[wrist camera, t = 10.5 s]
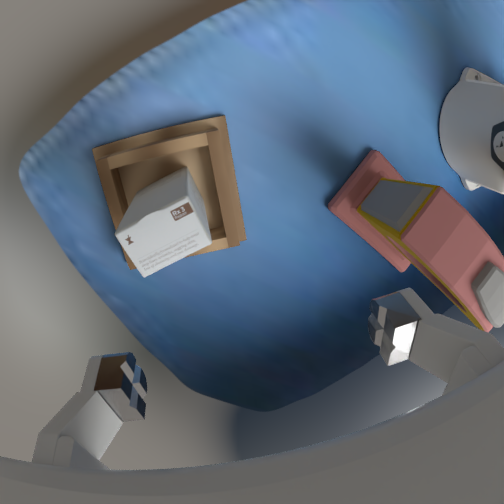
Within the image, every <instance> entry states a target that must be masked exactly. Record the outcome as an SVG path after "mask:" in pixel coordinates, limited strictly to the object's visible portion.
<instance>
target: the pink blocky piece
mask: <svg viewBox="0 0 504 504" xmlns="http://www.w3.org/2000/svg"><path fill="white" fill-rule="evenodd" d="M328 209H329V210H330V211H331V212H332V213H334V214H335V215H336V216H337V217H338V218H340V219H341V220H342V221H343V222H344V223H345V224H347V225H348V226H349V227H350V228H351V229H353V230H354V231H355V232H356V233H357V234H358V235H360V236H361V237H362V238H363V239H364V240H365V241H366V242H368V243H369V244H370V245H371V246H372V247H373V248H374V249H376V250H377V251H378V252H379V253H380V254H381V255H382V256H383V257H385V258H386V259H387V260H388V261H389V262H390V263H391V264H392V265H393V266H395V267H396V268H397V269H398V270H399V271H400V272H404V271H405V270H406V269H407V267H408V266H409V265H410V264H411V263H412V264H413V265H414V266H415V267H416V268H417V269H419V270H420V271H421V272H422V273H423V274H424V275H425V276H426V277H427V278H428V279H429V280H430V281H431V282H432V283H433V284H435V285H436V286H437V287H438V288H439V289H440V290H441V291H442V292H443V293H444V294H445V295H446V296H447V297H448V298H449V299H450V300H451V301H452V302H453V303H454V304H455V305H456V306H457V307H458V308H459V309H460V310H461V311H462V312H463V313H464V314H465V315H466V316H467V317H468V318H469V319H470V320H471V321H472V322H473V323H474V324H475V326H476V327H478V328H479V329H480V330H482V331H485V332H487V333H488V332H489V331H490V330H491V329H492V327H493V326H494V327H496V328H497V327H501V326H502V325H503V324H504V257H503V255H502V254H501V252H500V251H499V249H498V248H497V246H496V245H495V244H494V242H493V241H492V239H491V238H490V236H489V235H488V234H487V233H486V232H485V231H484V229H483V228H482V227H481V226H480V225H479V224H478V223H477V221H476V220H475V219H474V218H473V217H472V216H471V215H470V214H469V213H468V211H467V210H466V209H465V208H464V207H463V206H461V205H460V204H459V203H458V202H457V201H456V200H455V199H454V198H453V197H452V196H451V195H450V194H449V193H448V192H447V191H446V190H445V189H443V188H442V187H440V186H436V185H430V184H423V183H416V182H408V181H405V180H404V179H403V178H402V176H401V175H400V174H399V173H398V172H397V171H396V169H395V168H394V167H393V166H392V165H391V164H390V163H389V162H388V160H387V159H386V158H385V157H384V156H383V155H382V154H381V153H380V152H379V151H376V150H371V151H370V152H369V153H368V155H367V156H366V157H365V158H364V160H363V161H362V162H361V163H360V165H359V166H358V167H357V169H356V170H355V171H354V172H353V174H352V175H351V176H350V177H349V179H348V180H347V181H346V182H345V184H344V185H343V186H342V187H341V189H340V190H339V191H338V192H337V194H336V195H335V196H334V197H333V199H332V200H331V201H330V202H329V204H328Z"/></svg>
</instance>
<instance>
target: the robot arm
mask: <svg viewBox="0 0 504 504" xmlns="http://www.w3.org/2000/svg"><path fill="white" fill-rule="evenodd" d="M439 131H440V141H441V146H442V150H443V153H444V156H445V158H446V160H447V162H448V164H449V165H450V166H451V168H452V169H453V170H454V171H455V172H457V173H458V175H459V176H460V178H461V181H462V183H463V185H464V187H465V188H466V189H468V190H474V189H476V188H478V187H480V186H483V187H486V188H488V189H491V190H493V191H496V192H498V193H501V194H504V85H503V84H501V83H499V82H497V81H496V80H494V79H492V78H490V77H488V76H487V75H485V74H483V73H481V72H479V71H477V70H475V69H473V68H469V67H466V68H465V69H464V70H463V72H462V75H461V78H460V81H459V82H458V83H457V84H456V85H455V86H454V87H453V88H452V89H451V90H450V92H449V93H448V95H447V97H446V99H445V101H444V103H443V107H442V110H441V115H440V126H439ZM369 309H370V310H371V312H372V314H371V316H370V317H369V319H368V329H369V334H370V336H371V339H372V341H373V342H374V344H376V345H378V346H380V347H381V348H380V354H381V356H382V357H383V359H384V360H385V362H386V364H387V365H388V366H389V365H392V364H395V363H398V362H401V361H404V360H406V359H409V360H410V361H412V362H413V363H415V364H417V365H418V366H420V367H422V368H423V369H425V370H427V371H428V372H430V373H432V374H433V375H435V376H437V377H438V378H440V379H442V380H443V381H445V382H447V383H448V384H447V386H446V388H445V390H444V392H443V395H442V396H441V397H439V398H437V399H434V400H432V401H430V402H428V403H426V404H424V405H422V406H419V407H417V408H415V409H413V410H411V411H408V412H406V413H404V414H401V415H399V416H396V417H394V418H392V419H389V420H386V421H384V422H381V423H378V424H376V425H373V426H370V427H368V428H365V429H362V430H359V431H356V432H353V433H350V434H347V435H344V436H341V437H338V438H334V439H331V440H328V441H325V442H321V443H317V444H314V445H310V446H306V447H302V448H299V449H295V450H290V451H286V452H282V453H277V454H273V455H268V456H263V457H258V458H252V459H247V460H241V461H235V462H228V463H221V464H214V465H205V466H197V467H186V468H173V469H153V470H110V469H109V468H108V467H107V466H105V465H104V464H103V463H102V462H100V461H99V460H100V458H101V457H102V455H103V454H104V452H105V450H106V449H107V447H108V446H109V444H110V443H111V441H112V439H113V438H114V436H115V435H116V433H117V432H118V430H119V428H120V427H121V425H122V424H123V422H124V421H135V420H144V419H145V407H146V404H145V402H144V401H143V397H144V396H145V395H146V394H147V382H146V377H145V375H144V372H143V370H142V369H141V368H140V367H138V366H137V365H135V363H136V359H135V357H134V356H133V354H132V353H130V352H126V353H117V354H108V355H102V356H92V357H91V358H90V359H89V362H88V365H87V369H86V373H85V376H84V380H83V384H82V387H81V391H80V392H77V393H76V394H75V395H74V396H73V397H72V398H71V399H70V400H69V401H68V402H67V403H66V404H65V406H64V407H63V408H62V409H61V410H60V411H59V412H58V413H57V414H56V415H55V416H54V417H53V419H52V420H51V421H50V422H49V423H48V424H47V425H46V426H45V427H44V428H43V429H42V430H41V431H40V433H39V434H38V438H37V442H36V446H35V450H34V454H33V459H32V462H26V461H21V460H15V459H10V458H6V457H1V456H0V504H504V348H503V347H502V346H501V344H500V343H499V342H498V341H497V340H496V339H495V337H494V336H493V335H492V334H490V333H487V332H485V331H482V330H480V329H477V328H474V327H472V326H469V325H467V324H464V323H461V322H459V321H456V320H453V319H451V318H448V317H446V316H443V315H440V314H434V313H433V312H432V311H431V310H430V309H429V308H428V306H427V305H426V304H425V303H424V302H423V301H422V300H421V298H420V297H419V296H418V295H417V294H416V293H415V292H414V291H413V290H412V289H411V288H406V289H403V290H400V291H397V292H395V293H391V294H388V295H385V296H382V297H378V298H375V299H372V300H371V302H370V308H369Z"/></svg>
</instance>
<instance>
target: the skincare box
mask: <svg viewBox="0 0 504 504" xmlns="http://www.w3.org/2000/svg"><path fill="white" fill-rule="evenodd" d="M115 236H116V238H117V239H118V241H119V242H120V244H121V245H122V247H123V248H124V250H125V251H126V253H127V254H128V256H129V257H130V259H131V260H132V262H133V263H134V265H135V266H136V268H137V269H138V271H139V272H140V273H141V275H142V276H143V277H146V276H148V275H150V274H152V273H154V272H156V271H158V270H160V269H162V268H164V267H166V266H168V265H170V264H172V263H174V262H176V261H178V260H180V259H182V258H184V257H186V256H188V255H190V254H192V253H194V252H196V251H198V250H200V249H202V248H204V247H206V246H208V245H211V244H212V239H211V234H210V230H209V225H208V220H207V215H206V210H205V205H204V200H203V198H202V196H201V194H200V192H199V190H198V188H197V186H196V184H195V182H194V180H193V178H192V175H191V173H190V171H189V169H188V167H183V168H181V169H179V170H177V171H175V172H173V173H171V174H169V175H167V176H165V177H163V178H161V179H160V180H158V181H156V182H154V183H152V184H150V185H148V186H146V187H144V188H142V189H141V190H139V191H137V193H136V195H135V197H134V198H133V200H132V202H131V204H130V206H129V207H128V209H127V211H126V213H125V215H124V217H123V218H122V220H121V222H120V224H119V226H118V228H117V230H116V232H115Z"/></svg>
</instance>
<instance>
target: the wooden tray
mask: <svg viewBox="0 0 504 504" xmlns="http://www.w3.org/2000/svg"><path fill="white" fill-rule="evenodd" d="M92 151H93V155H94V159H95V162H96V166H97V170H98V174H99V177H100V181H101V184H102V188H103V191H104V194H105V198H106V201H107V204H108V208H109V211H110V214H111V217H112V220H113V223H114V226H115V229H116V230H117V228H118V226H119V224H120V222H121V220H122V218H123V217H124V215H125V213H126V211H127V209H128V207H129V206H130V204H131V202H132V200H133V198H134V197H135V195H136V193H137V191H139V190H141V189H142V188H144V187H146V186H148V185H150V184H152V183H154V182H156V181H158V180H160V179H161V178H163V177H165V176H167V175H169V174H171V173H173V172H175V171H177V170H179V169H181V168H183V167H188V169H189V171H190V173H191V175H192V178H193V180H194V182H195V184H196V186H197V188H198V190H199V192H200V194H201V196H202V198H203V200H204V205H205V210H206V215H207V220H208V225H209V230H210V234H211V239H212V244H211V245H208V246H206V247H204V248H202V249H200V250H198V251H196V252H194V253H192V254H190V255H188V256H186V257H189V256H194V255H198V254H203V253H207V252H212V251H216V250H221V249H225V248H230V247H234V246H239V245H240V243H239V241H244V240H247V239H246V234H245V228H244V222H243V216H242V211H241V205H240V199H239V193H238V188H237V182H236V176H235V170H234V165H233V159H232V153H231V147H230V141H229V136H228V130H227V124H226V118H225V115H224V116H218V117H213V118H208V119H203V120H198V121H193V122H188V123H184V124H179V125H175V126H171V127H167V128H162V129H158V130H154V131H151V132H147V133H143V134H139V135H136V136H132V137H128V138H125V139H121V140H118V141H115V142H111V143H108V144H105V145H102V146H99V147H95V148H93V149H92ZM121 247H122V245H121ZM122 250H123V252H124V255H125V258H126V261H127V263H128V266H129V268H130V270H132V269H136V266H135V265H134V263H133V262H132V260H131V259H130V257H129V256H128V254H127V253H126V251H125V250H124V248H123V247H122ZM184 258H185V257H184Z"/></svg>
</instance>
